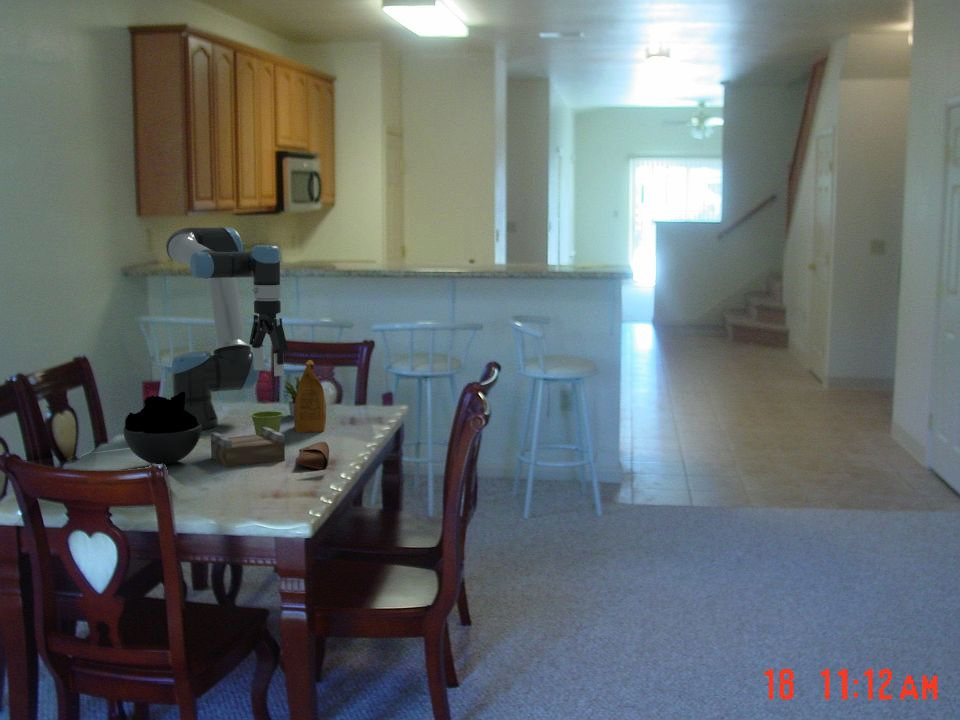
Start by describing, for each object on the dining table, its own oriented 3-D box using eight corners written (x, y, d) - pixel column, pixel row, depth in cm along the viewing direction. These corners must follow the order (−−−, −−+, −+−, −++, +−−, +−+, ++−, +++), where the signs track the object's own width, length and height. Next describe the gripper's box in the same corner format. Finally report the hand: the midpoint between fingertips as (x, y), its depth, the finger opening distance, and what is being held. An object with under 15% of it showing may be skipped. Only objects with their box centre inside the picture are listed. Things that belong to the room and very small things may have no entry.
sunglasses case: (297, 448, 280) (313, 431, 280) (316, 465, 282) (332, 447, 282) (294, 463, 263) (312, 443, 263) (315, 480, 264) (332, 461, 264)
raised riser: (211, 457, 279) (210, 432, 278) (267, 451, 287) (266, 426, 286) (226, 467, 267) (226, 441, 266) (284, 460, 275) (284, 435, 274)
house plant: (325, 416, 343) (324, 368, 341) (325, 423, 329) (324, 373, 327) (282, 417, 341) (281, 369, 339) (280, 424, 327) (279, 374, 325)
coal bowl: (130, 475, 258) (127, 402, 256) (119, 459, 276) (116, 391, 274) (210, 467, 267) (207, 396, 265) (194, 452, 285) (192, 386, 283)
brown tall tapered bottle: (327, 427, 323) (325, 358, 320) (326, 434, 310) (325, 363, 308) (295, 428, 321) (293, 359, 319) (293, 435, 309) (291, 364, 307)
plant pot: (276, 446, 293) (275, 417, 292) (246, 445, 295) (245, 416, 294) (288, 440, 302) (288, 411, 301) (259, 439, 304) (258, 410, 303)
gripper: (236, 297, 299) (238, 368, 302) (274, 303, 279) (275, 379, 282) (260, 296, 303) (262, 366, 306) (299, 302, 284) (300, 377, 287)
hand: (268, 372), depth 294 cm, fingers open, 13 cm apart
